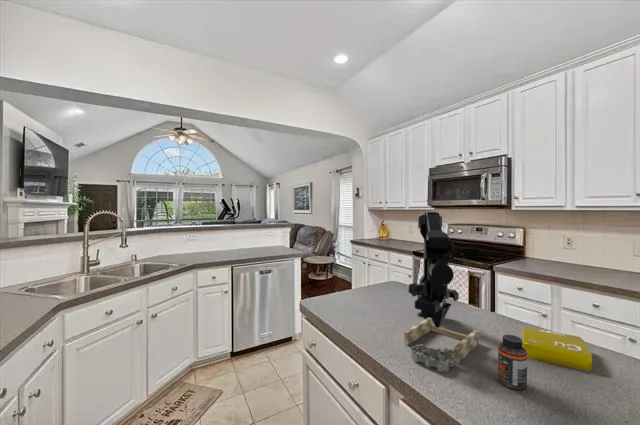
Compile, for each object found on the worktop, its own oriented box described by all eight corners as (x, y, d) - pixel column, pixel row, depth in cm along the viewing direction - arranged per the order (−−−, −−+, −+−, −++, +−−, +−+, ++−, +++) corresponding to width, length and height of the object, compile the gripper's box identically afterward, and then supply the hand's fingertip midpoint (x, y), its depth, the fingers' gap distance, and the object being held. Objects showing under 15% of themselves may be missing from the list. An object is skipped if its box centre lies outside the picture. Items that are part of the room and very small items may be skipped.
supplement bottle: (492, 377, 74) (492, 332, 74) (514, 376, 74) (514, 332, 74) (509, 392, 68) (509, 343, 68) (533, 390, 68) (533, 342, 68)
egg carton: (457, 365, 80) (457, 350, 80) (444, 376, 75) (444, 360, 75) (421, 351, 88) (421, 337, 88) (407, 360, 83) (407, 345, 83)
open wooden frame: (428, 328, 104) (428, 317, 104) (478, 343, 92) (478, 330, 92) (404, 344, 92) (404, 331, 92) (458, 363, 81) (458, 348, 81)
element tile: (582, 350, 89) (582, 335, 88) (593, 373, 76) (593, 355, 76) (522, 338, 97) (522, 324, 97) (523, 357, 84) (523, 341, 84)
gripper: (426, 268, 102) (426, 313, 102) (398, 277, 89) (398, 328, 89) (459, 273, 94) (459, 321, 94) (434, 283, 81) (434, 339, 81)
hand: (437, 327), depth 90 cm, fingers closed
